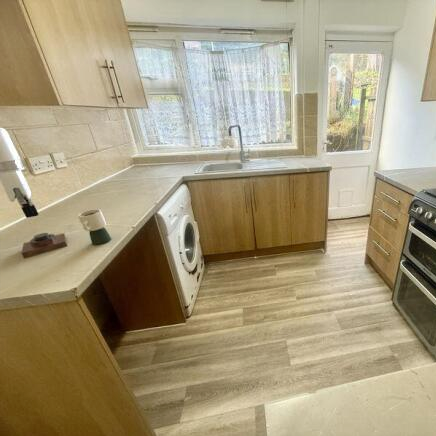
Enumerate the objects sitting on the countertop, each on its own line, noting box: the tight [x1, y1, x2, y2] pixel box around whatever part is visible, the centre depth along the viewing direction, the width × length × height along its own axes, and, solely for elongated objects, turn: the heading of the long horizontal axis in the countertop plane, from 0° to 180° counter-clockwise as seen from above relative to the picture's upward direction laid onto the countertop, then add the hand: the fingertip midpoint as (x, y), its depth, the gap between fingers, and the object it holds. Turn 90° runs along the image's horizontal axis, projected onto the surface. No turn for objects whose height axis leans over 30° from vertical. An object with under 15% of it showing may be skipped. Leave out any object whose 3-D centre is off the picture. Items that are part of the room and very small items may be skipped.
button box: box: [21, 232, 68, 259], centre depth 94 cm, size 12×10×4 cm
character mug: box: [77, 208, 112, 246], centre depth 94 cm, size 11×7×13 cm, turn 11°
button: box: [33, 232, 50, 241], centre depth 93 cm, size 4×4×2 cm
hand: (32, 216), depth 89 cm, fingers closed
